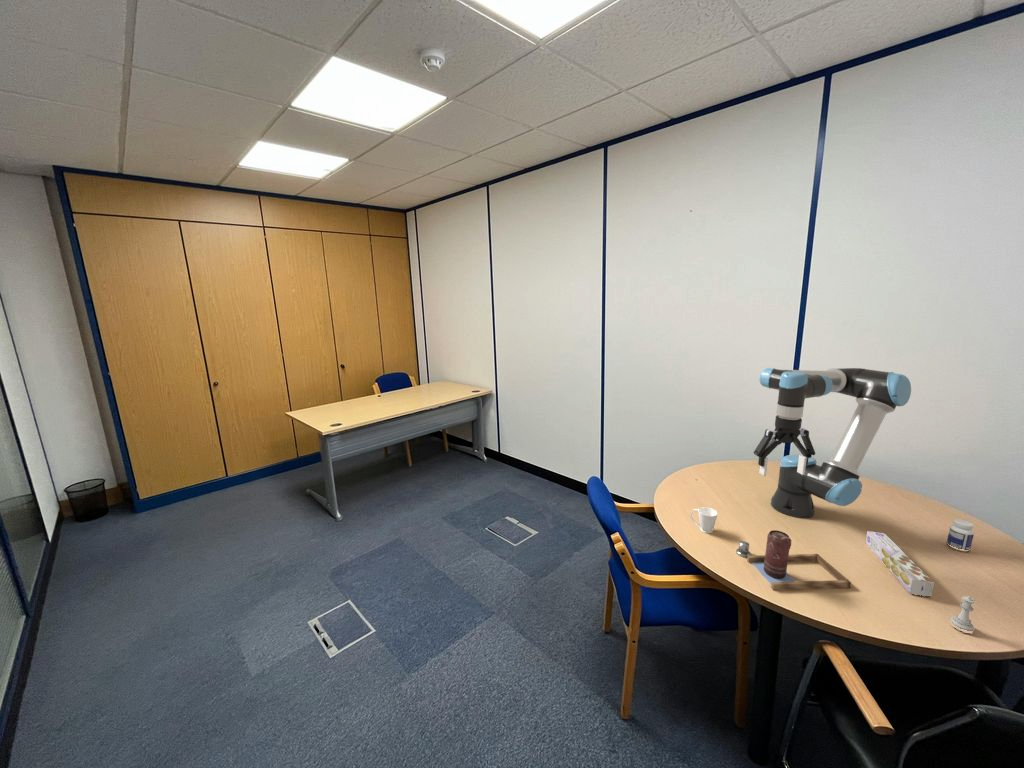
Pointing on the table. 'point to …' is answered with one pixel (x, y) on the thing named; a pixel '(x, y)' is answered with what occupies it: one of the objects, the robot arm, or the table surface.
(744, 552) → the grey metal knob
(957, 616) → the chess piece
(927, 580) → the box
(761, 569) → the front pad
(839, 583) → the frame
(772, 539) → the can
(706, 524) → the cup
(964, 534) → the pill bottle
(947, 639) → the table surface
